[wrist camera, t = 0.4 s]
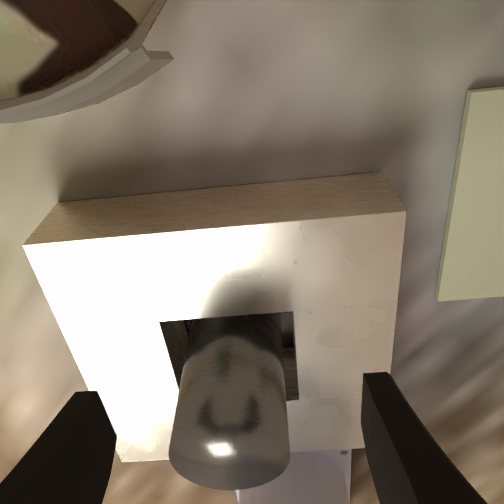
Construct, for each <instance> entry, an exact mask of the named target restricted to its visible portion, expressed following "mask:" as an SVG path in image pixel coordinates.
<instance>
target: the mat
mask: <svg viewBox="0 0 504 504" xmlns="http://www.w3.org/2000/svg"><path fill="white" fill-rule="evenodd" d="M491 297H504V86H501V87H492V88H482V89H473V90H467V96H466V102H465V108H464V115H463V121H462V127H461V134H460V140H459V146H458V153H457V159H456V165H455V172H454V178H453V184H452V191H451V197H450V203H449V210H448V216H447V222H446V229H445V235H444V241H443V248H442V254H441V260H440V267H439V273H438V279H437V286H436V292H435V298H436V300H437V301H438V302H439V301H452V300H465V299H478V298H491Z"/></svg>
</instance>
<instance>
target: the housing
mask: <svg viewBox="0 0 504 504" xmlns="http://www.w3.org/2000/svg"><path fill="white" fill-rule="evenodd" d="M406 212H407V211H406V209H405V208H404V206H403V205H402V203H401V201H400V200H399V198H398V197H397V195H396V193H395V192H394V190H393V188H392V187H391V185H390V184H389V182H388V180H387V179H386V177H385V176H384V174H383V172H375V173H365V174H354V175H344V176H333V177H323V178H312V179H301V180H291V181H280V182H270V183H259V184H248V185H238V186H227V187H217V188H206V189H196V190H185V191H174V192H164V193H153V194H143V195H132V196H122V197H111V198H100V199H90V200H79V201H69V202H58V203H57V204H56V205H55V206H54V208H53V209H52V210H51V211H50V212H49V214H48V215H47V216H46V217H45V218H44V220H43V221H42V222H41V223H40V225H39V226H38V227H37V228H36V229H35V231H34V232H33V233H32V234H31V236H30V237H29V238H28V239H27V240H26V242H25V243H24V244H23V245H22V246H23V248H24V250H25V252H26V254H27V257H28V259H29V261H30V263H31V265H32V267H33V270H34V272H35V274H36V276H37V278H38V281H39V283H40V285H41V287H42V289H43V291H44V294H45V296H46V298H47V300H48V302H49V304H50V307H51V309H52V311H53V313H54V315H55V317H56V320H57V322H58V324H59V326H60V328H61V330H62V333H63V335H64V337H65V339H66V341H67V343H68V346H69V348H70V350H71V352H72V354H73V357H74V359H75V361H76V363H77V365H78V367H79V370H80V372H81V374H82V376H83V378H84V380H85V383H86V385H87V387H88V389H89V391H98V393H99V396H100V398H101V400H102V403H103V405H104V407H105V410H106V412H107V414H108V417H109V419H110V421H111V424H112V426H113V428H114V431H115V433H116V435H117V441H116V447H115V448H116V450H117V452H118V454H119V456H120V459H121V461H122V462H134V461H151V460H168V459H169V452H168V451H169V446H170V440H171V434H172V428H173V423H174V417H175V411H176V405H177V400H178V394H179V388H180V382H181V377H182V371H183V365H184V359H185V353H186V348H187V342H188V335H187V331H186V327H185V323H184V320H186V319H199V318H212V317H225V316H238V315H251V314H264V313H277V312H290V311H291V316H292V330H293V344H294V347H285V348H282V352H283V366H284V379H285V392H286V405H287V418H288V431H289V445H290V452H305V451H322V450H340V449H357V448H365V444H364V439H363V433H362V428H361V404H362V385H363V373H374V372H388V373H389V374H390V373H391V363H392V353H393V343H394V333H395V323H396V313H397V303H398V293H399V282H400V272H401V262H402V252H403V242H404V232H405V222H406Z"/></svg>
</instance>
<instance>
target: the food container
mask: <svg viewBox="0 0 504 504" xmlns="http://www.w3.org/2000/svg"><path fill="white" fill-rule="evenodd" d="M166 1H167V0H0V124H4V123H15V122H22V121H27V120H33V119H38V118H43V117H48V116H53V115H58V114H61V113H65V112H68V111H72V110H76V109H79V108H83V107H87V106H90V105H94V104H98V103H100V102H102V101H104V100H106V99H108V98H110V97H113V96H115V95H117V94H119V93H121V92H123V91H125V90H127V89H129V88H131V87H133V86H135V85H138V84H139V83H141V82H142V81H144V80H145V79H146V78H148V77H149V76H151V75H152V74H153V73H155V72H156V71H158V70H159V69H160V68H162V67H163V66H165V65H166V64H167V63H169V62H170V61H171V60H173V59H174V58H173V57H172V55H171V54H170V53H169V52H164V51H147V50H146V49H145V48H144V47H143V45H142V43H143V41H144V39H145V38H146V36H147V34H148V32H149V31H150V29H151V27H152V25H153V24H154V22H155V20H156V18H157V16H158V15H159V13H160V11H161V9H162V8H163V6H164V4H165V2H166Z"/></svg>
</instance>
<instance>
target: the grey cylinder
mask: <svg viewBox="0 0 504 504" xmlns="http://www.w3.org/2000/svg"><path fill="white" fill-rule="evenodd" d="M168 452H169V460H170V462H171V465H172V466H173V468H174V469H175V470H176V471H177V472H178V473H179V474H180V475H181V476H183V477H184V478H186V479H187V480H189V481H191V482H193V483H196V484H198V485H201V486H204V487H208V488H213V489H220V490H242V489H249V488H254V487H258V486H261V485H264V484H266V483H268V482H271V481H272V480H274V479H276V478H277V477H278V476H280V475H281V474H282V473H283V472H284V471H285V469H286V468H287V466H288V464H289V461H290V445H289V431H288V418H287V405H286V392H285V379H284V366H283V352H282V339H281V326H280V313H279V312H277V313H264V314H251V315H238V316H225V317H212V318H199V319H191V325H190V330H189V336H188V342H187V348H186V353H185V359H184V365H183V371H182V377H181V382H180V388H179V394H178V400H177V405H176V411H175V417H174V423H173V428H172V434H171V440H170V446H169V451H168Z"/></svg>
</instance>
